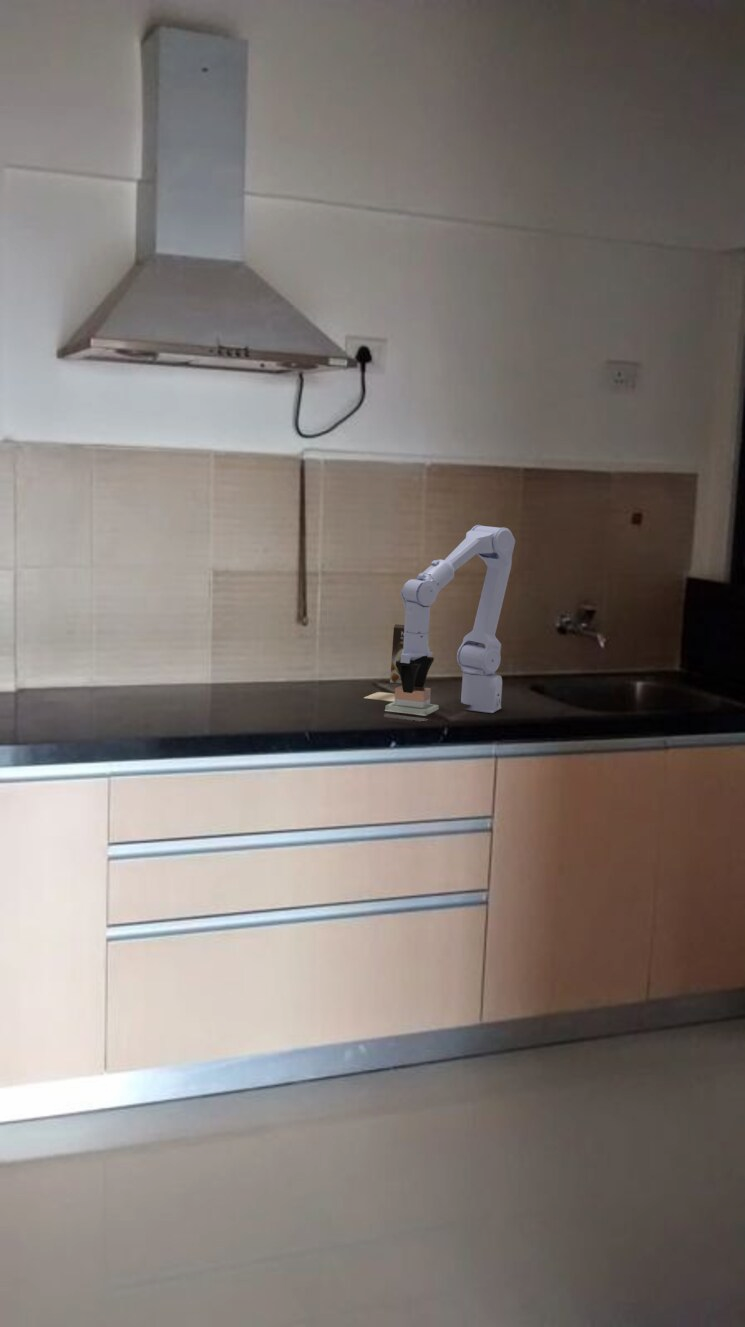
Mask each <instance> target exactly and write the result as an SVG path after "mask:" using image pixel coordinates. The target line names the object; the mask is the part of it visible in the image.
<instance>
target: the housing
mask: <svg viewBox="0 0 745 1327" xmlns="http://www.w3.org/2000/svg"><path fill="white" fill-rule="evenodd" d="M431 691H432V688H431V687H414V690H413V693H406V692H403V688H402V685H400V686H397V687H395V689H394V694H395V703H394V706H399V707H407V708H415V709H424V710H426V709H428V708H430V704H431V693H432V692H431Z"/></svg>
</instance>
